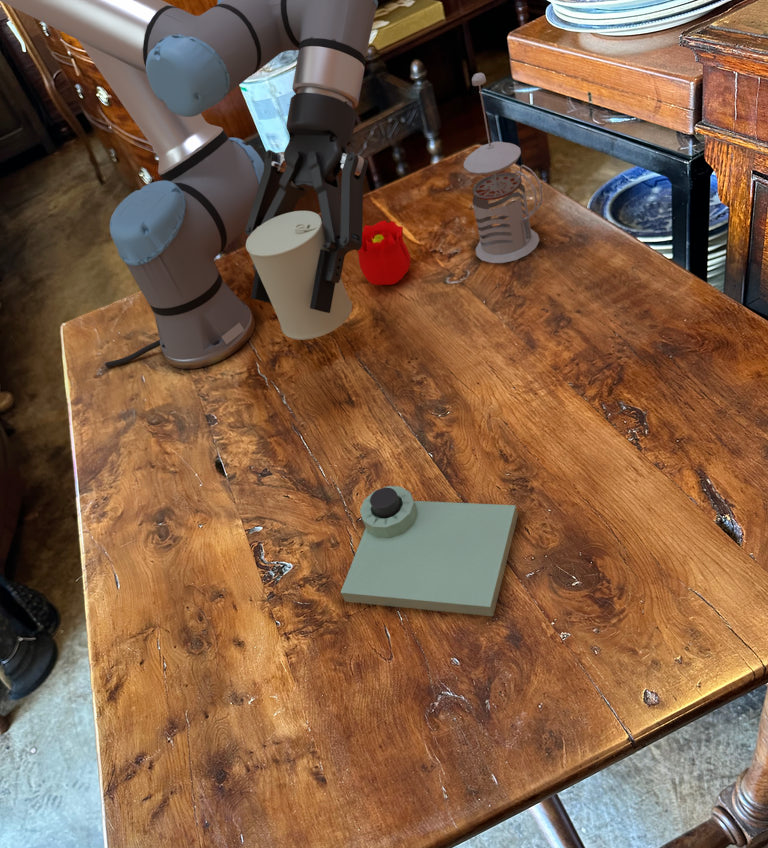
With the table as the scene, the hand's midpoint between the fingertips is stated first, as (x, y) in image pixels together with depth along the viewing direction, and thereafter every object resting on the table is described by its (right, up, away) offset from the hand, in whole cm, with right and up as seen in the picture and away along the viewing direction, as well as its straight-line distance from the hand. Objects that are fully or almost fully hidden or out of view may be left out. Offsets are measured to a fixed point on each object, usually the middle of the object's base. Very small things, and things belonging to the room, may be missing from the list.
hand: (289, 305), depth 93 cm
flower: (+12, +12, +30) cm, 35 cm away
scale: (+16, -29, -9) cm, 35 cm away
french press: (+31, +16, +28) cm, 44 cm away
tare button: (+11, -24, -7) cm, 27 cm away
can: (+3, 0, +4) cm, 5 cm away
